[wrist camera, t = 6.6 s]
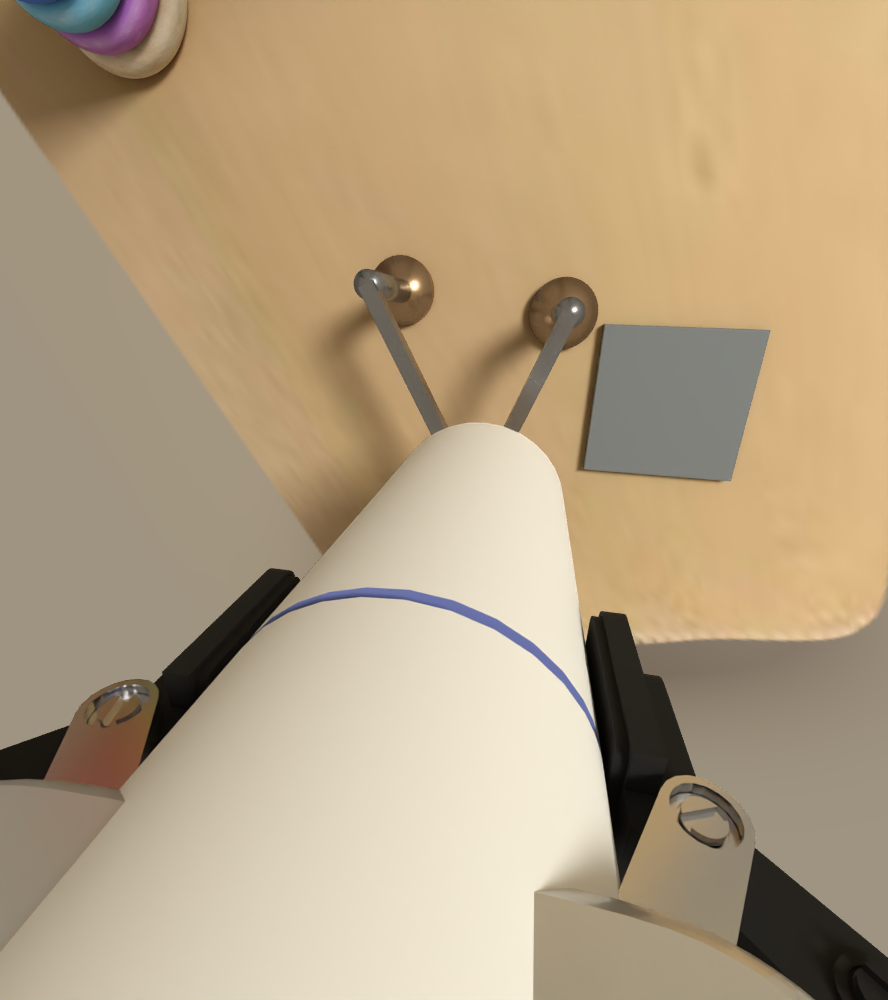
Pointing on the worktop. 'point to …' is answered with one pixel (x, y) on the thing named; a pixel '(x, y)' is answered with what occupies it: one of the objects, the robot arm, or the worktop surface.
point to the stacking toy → (118, 31)
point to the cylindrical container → (362, 771)
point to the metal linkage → (408, 297)
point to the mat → (672, 399)
